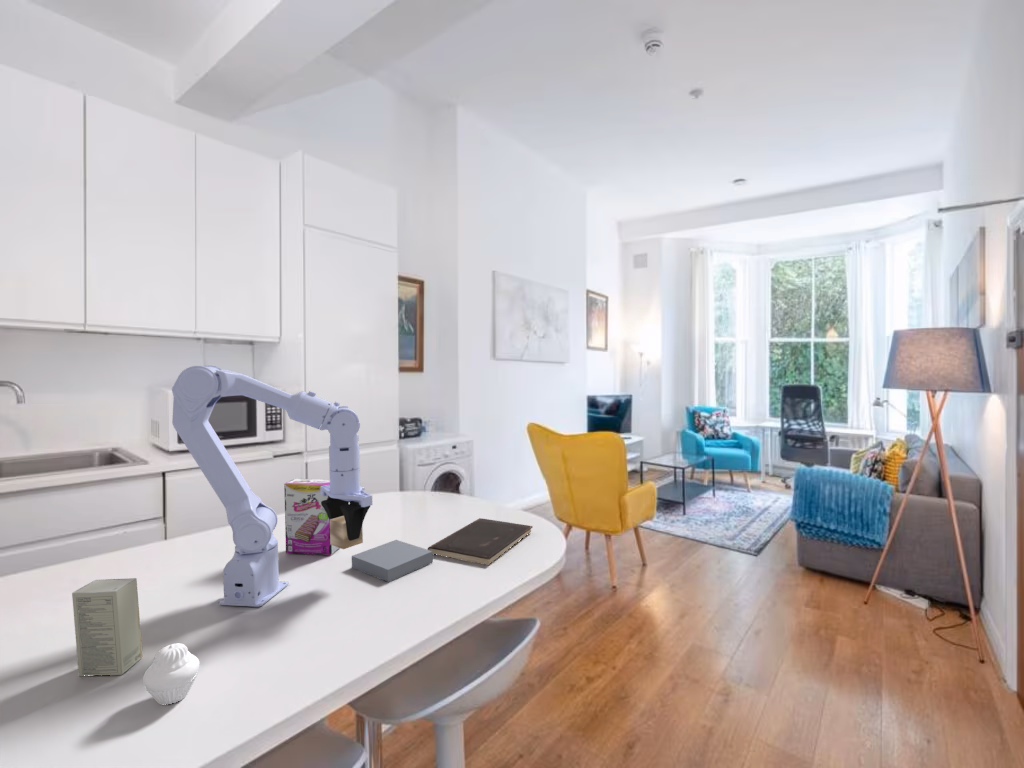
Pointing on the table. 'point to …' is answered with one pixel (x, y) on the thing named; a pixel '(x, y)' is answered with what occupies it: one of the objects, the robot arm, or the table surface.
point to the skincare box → (107, 626)
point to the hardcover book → (481, 540)
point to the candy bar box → (306, 518)
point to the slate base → (392, 560)
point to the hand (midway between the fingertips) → (346, 536)
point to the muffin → (171, 674)
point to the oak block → (341, 534)
